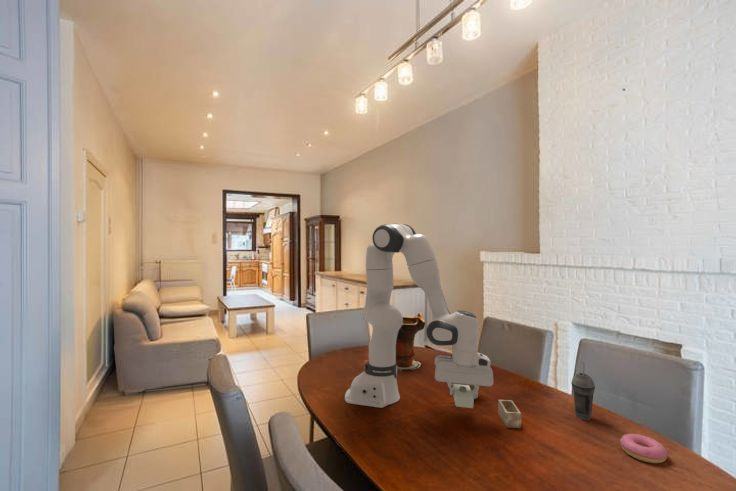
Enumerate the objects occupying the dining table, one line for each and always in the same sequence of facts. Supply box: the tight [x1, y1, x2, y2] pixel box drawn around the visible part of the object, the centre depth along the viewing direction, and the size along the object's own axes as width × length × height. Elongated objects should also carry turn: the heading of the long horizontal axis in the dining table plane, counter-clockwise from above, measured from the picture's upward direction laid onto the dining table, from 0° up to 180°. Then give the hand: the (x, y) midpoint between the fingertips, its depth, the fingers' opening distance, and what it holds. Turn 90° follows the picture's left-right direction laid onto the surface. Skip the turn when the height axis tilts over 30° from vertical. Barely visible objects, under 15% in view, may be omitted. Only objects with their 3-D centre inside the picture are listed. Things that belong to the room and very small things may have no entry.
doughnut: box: [619, 433, 668, 464], centre depth 101 cm, size 11×11×4 cm
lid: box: [452, 383, 475, 409], centre depth 122 cm, size 6×11×5 cm, turn 172°
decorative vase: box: [396, 312, 426, 371], centre depth 179 cm, size 21×23×28 cm
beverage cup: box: [570, 362, 596, 421], centre depth 123 cm, size 7×7×20 cm
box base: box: [497, 399, 522, 429], centre depth 121 cm, size 5×10×5 cm, turn 173°
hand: (462, 395), depth 123 cm, fingers closed on lid, 6 cm apart
